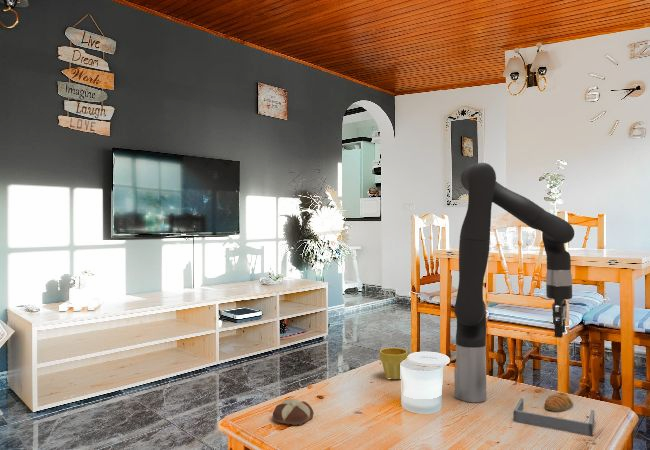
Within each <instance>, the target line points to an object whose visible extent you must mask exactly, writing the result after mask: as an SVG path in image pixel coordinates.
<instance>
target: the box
mask: <svg viewBox="0 0 650 450" xmlns="http://www.w3.org/2000/svg"><path fill="white" fill-rule="evenodd" d="M523 410H524V398H519V400H518V401H517V403H516V405H515V407H514V409H513V412H512V413H513V422H516V423H523V424H527V425H533V426H537V427H544V428H548V429H552V430H556V431H557V430H558V431H563V432H568V433H574V434H579V435H583V436H584V435H585V436H589V437H592V436H593V433H594V427H595V409H590V413H589V418H588V419H589V420H588V422H585V421H578V420H574V419H569V418H563V417H556V416H551V415H545V414H540V413H535V412H529V411H523Z"/></svg>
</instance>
